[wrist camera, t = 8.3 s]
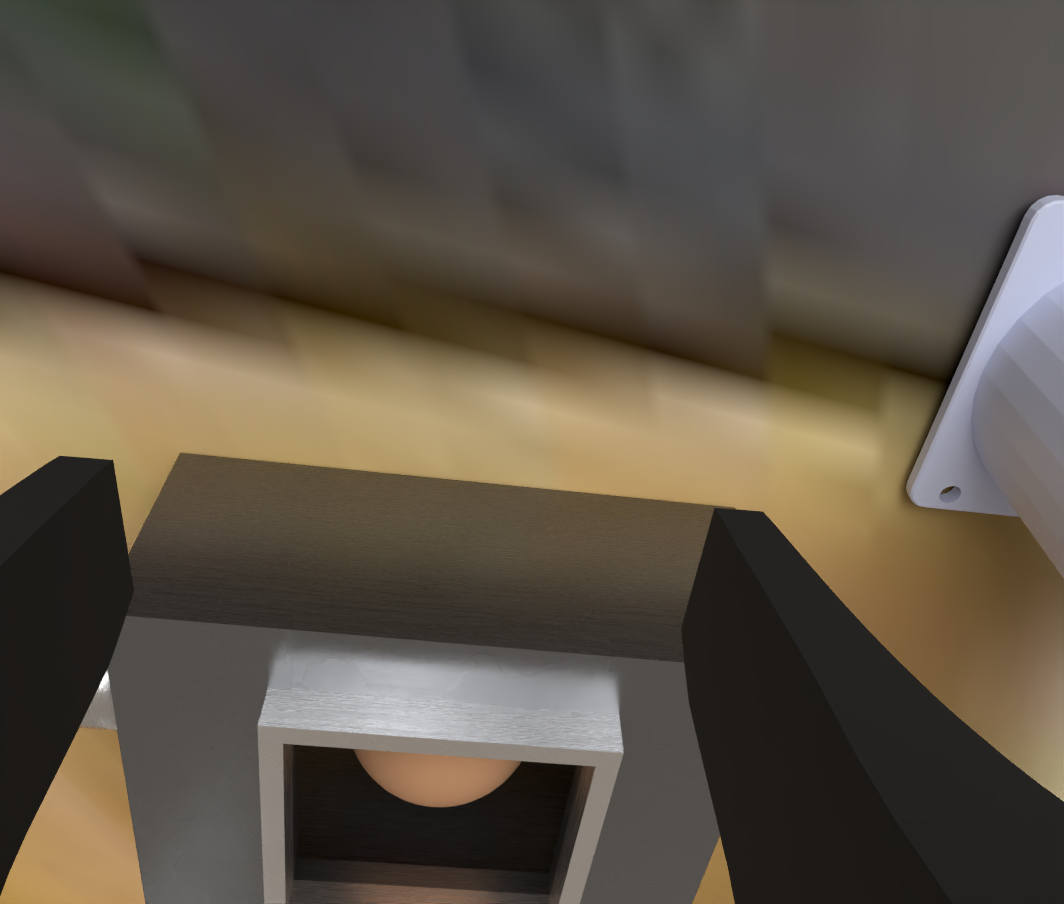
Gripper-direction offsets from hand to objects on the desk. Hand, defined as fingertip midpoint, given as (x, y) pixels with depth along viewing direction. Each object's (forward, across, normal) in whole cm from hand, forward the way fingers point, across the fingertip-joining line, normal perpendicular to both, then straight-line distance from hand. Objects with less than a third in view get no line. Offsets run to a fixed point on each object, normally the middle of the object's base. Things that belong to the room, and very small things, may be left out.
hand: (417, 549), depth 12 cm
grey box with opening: (+10, +1, +12) cm, 16 cm away
